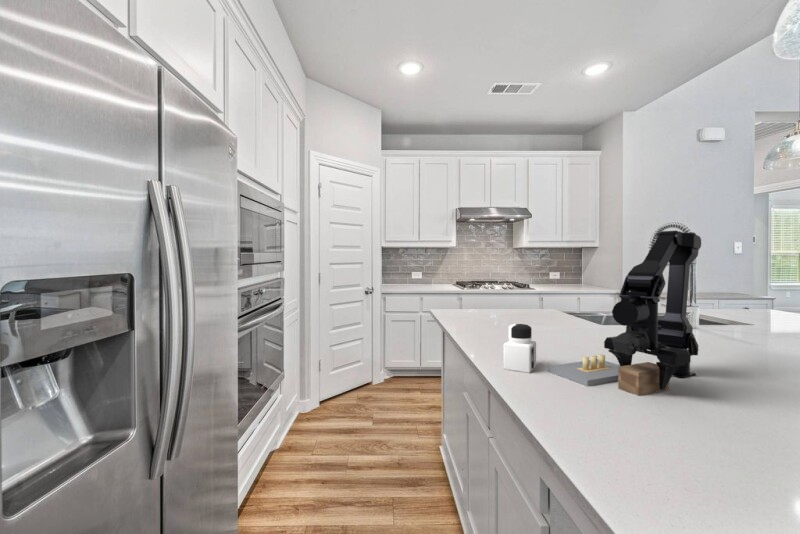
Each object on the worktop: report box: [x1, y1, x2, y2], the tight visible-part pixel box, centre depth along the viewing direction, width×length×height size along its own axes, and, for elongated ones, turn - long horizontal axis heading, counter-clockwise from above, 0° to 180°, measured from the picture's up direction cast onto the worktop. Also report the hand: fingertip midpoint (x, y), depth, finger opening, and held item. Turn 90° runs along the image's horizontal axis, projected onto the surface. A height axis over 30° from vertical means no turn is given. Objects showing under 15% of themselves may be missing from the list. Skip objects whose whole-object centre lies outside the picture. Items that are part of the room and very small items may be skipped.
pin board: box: [547, 354, 620, 387], centre depth 109 cm, size 20×14×5 cm
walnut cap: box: [617, 361, 670, 397], centre depth 97 cm, size 11×5×6 cm, turn 112°
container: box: [502, 323, 537, 374], centre depth 116 cm, size 8×8×13 cm
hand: (643, 383), depth 97 cm, fingers open, 9 cm apart
